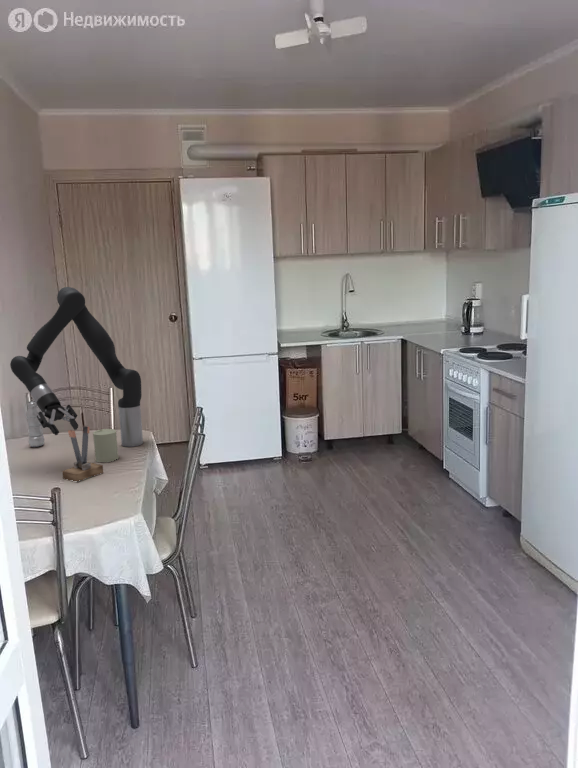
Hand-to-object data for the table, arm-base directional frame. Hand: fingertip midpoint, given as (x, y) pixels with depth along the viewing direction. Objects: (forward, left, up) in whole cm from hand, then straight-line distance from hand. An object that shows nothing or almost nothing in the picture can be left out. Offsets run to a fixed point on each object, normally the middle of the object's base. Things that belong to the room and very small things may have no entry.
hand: (67, 431), depth 234 cm
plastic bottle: (-36, -30, -17) cm, 50 cm away
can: (-17, +8, -17) cm, 25 cm away
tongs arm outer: (+4, +6, -13) cm, 15 cm away
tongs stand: (+3, +6, -16) cm, 18 cm away
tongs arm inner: (+3, +6, -13) cm, 15 cm away
